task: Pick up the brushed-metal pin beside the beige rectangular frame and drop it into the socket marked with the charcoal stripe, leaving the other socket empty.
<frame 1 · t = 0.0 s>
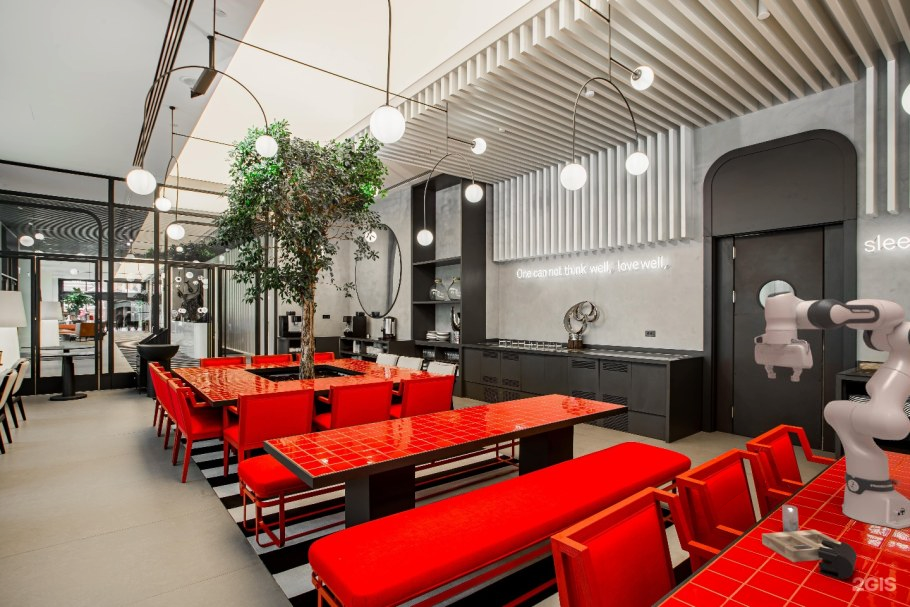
hand: (783, 379, 157), 48 cm above the table, fingers open, 8 cm apart
end cap: (838, 573, 125), on the table
metal pin: (791, 532, 148), on the table
beige rectangular frame: (804, 550, 137), on the table
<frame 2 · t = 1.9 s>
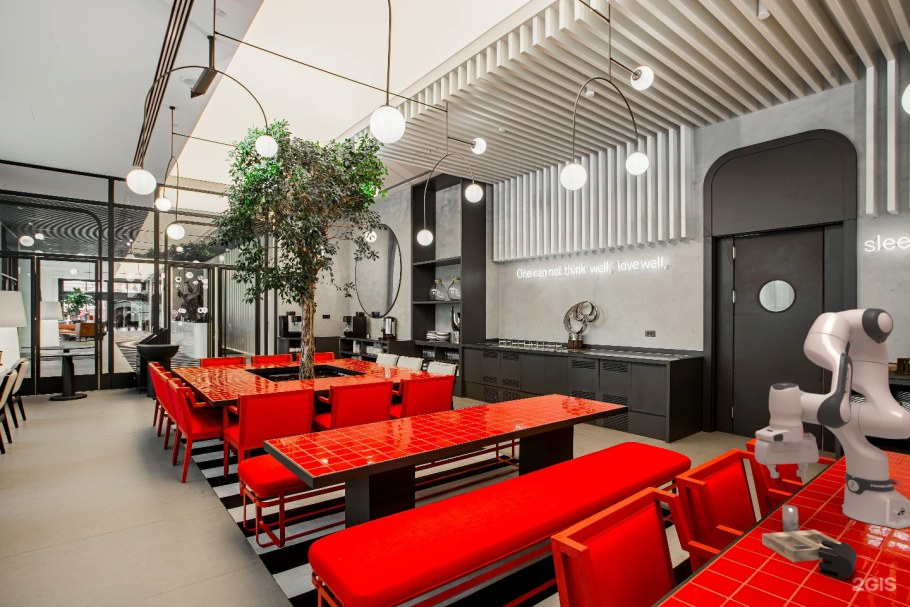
hand: (788, 477, 149), 18 cm above the table, fingers open, 8 cm apart
nothing on the table moved.
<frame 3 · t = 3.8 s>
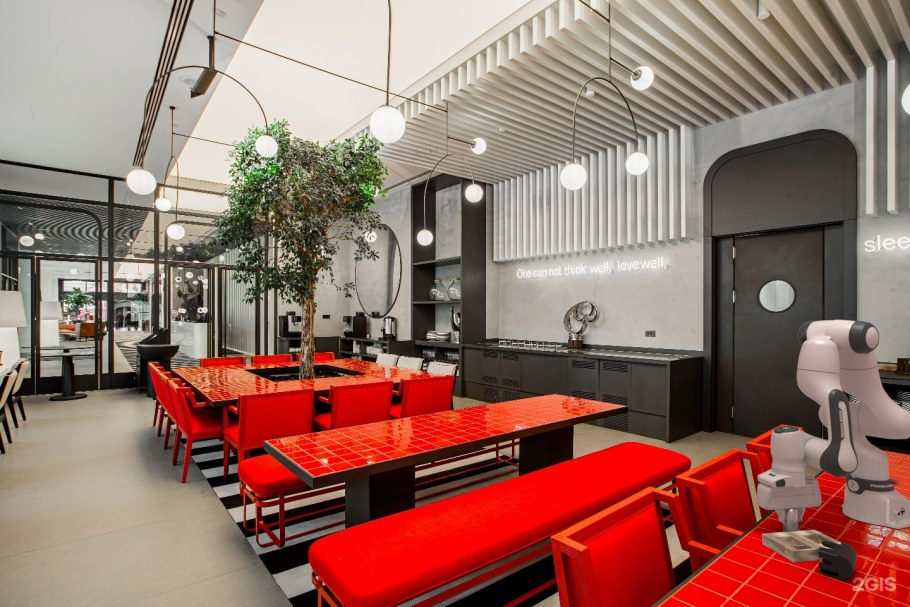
hand: (790, 521, 149), 4 cm above the table, fingers closed on metal pin, 4 cm apart
metal pin: (790, 532, 148), on the table, touching gripper
everything else where it was.
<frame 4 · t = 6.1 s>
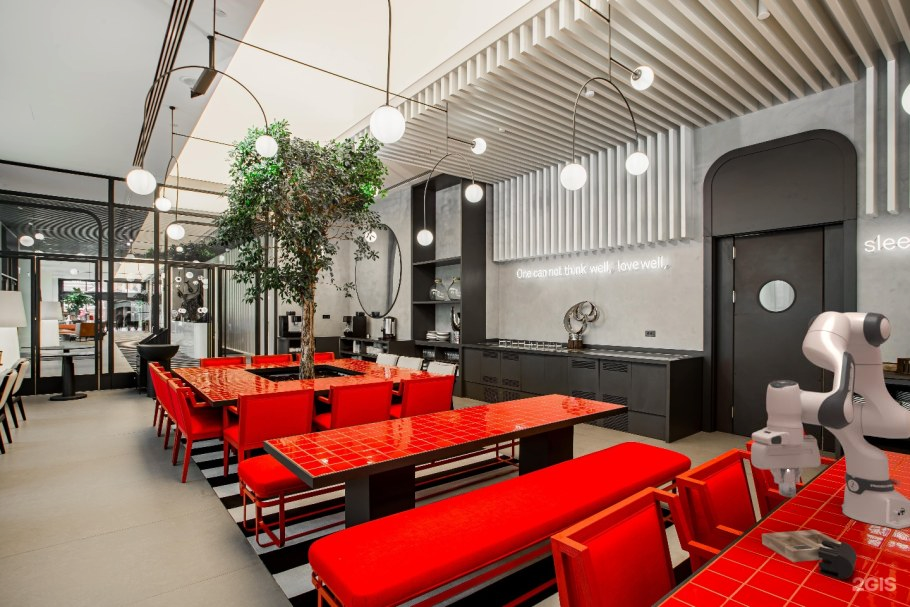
hand: (787, 482, 137), 20 cm above the table, fingers closed on metal pin, 4 cm apart
metal pin: (787, 494, 137), point 16 cm above the table, touching gripper
everything else where it was.
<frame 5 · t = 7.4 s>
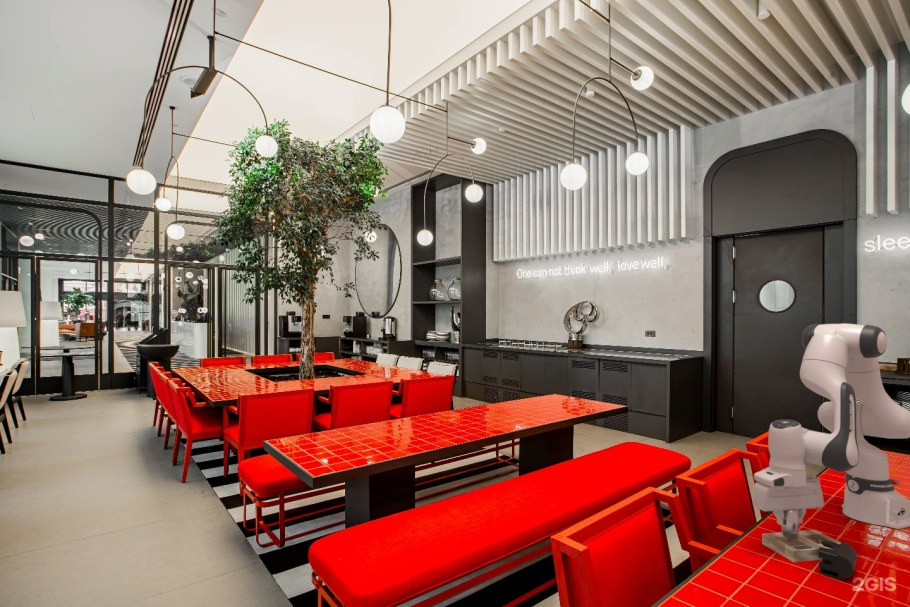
hand: (789, 523, 136), 8 cm above the table, fingers closed on metal pin, 4 cm apart
metal pin: (790, 535, 136), point 4 cm above the table, touching gripper
everything else where it was.
when the fingers open (5 cm above the table, at t = 8.3 s): metal pin drops 1 cm, resting in beige rectangular frame.
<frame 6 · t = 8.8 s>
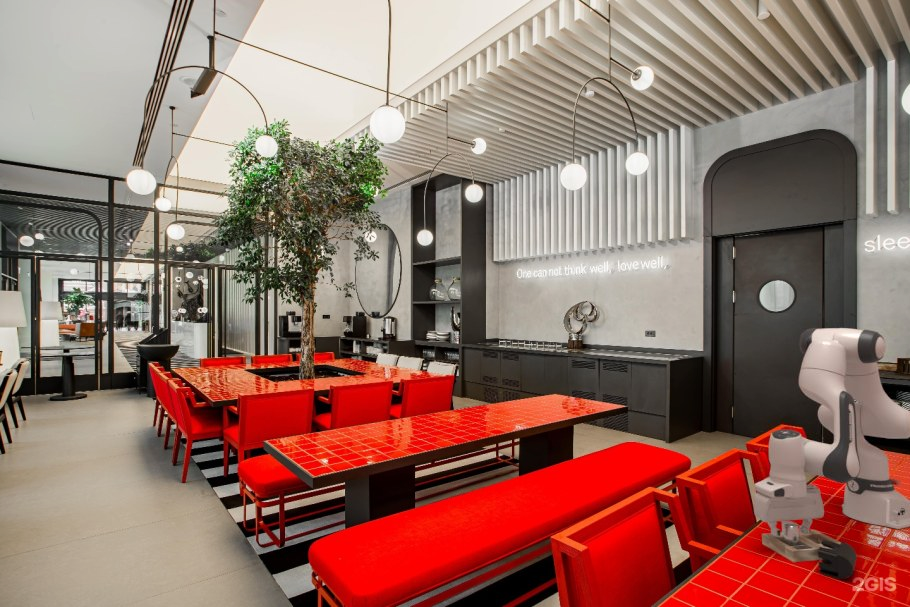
hand: (790, 534, 136), 5 cm above the table, fingers open, 8 cm apart
metal pin: (791, 551, 136), resting in beige rectangular frame
everything else where it was.
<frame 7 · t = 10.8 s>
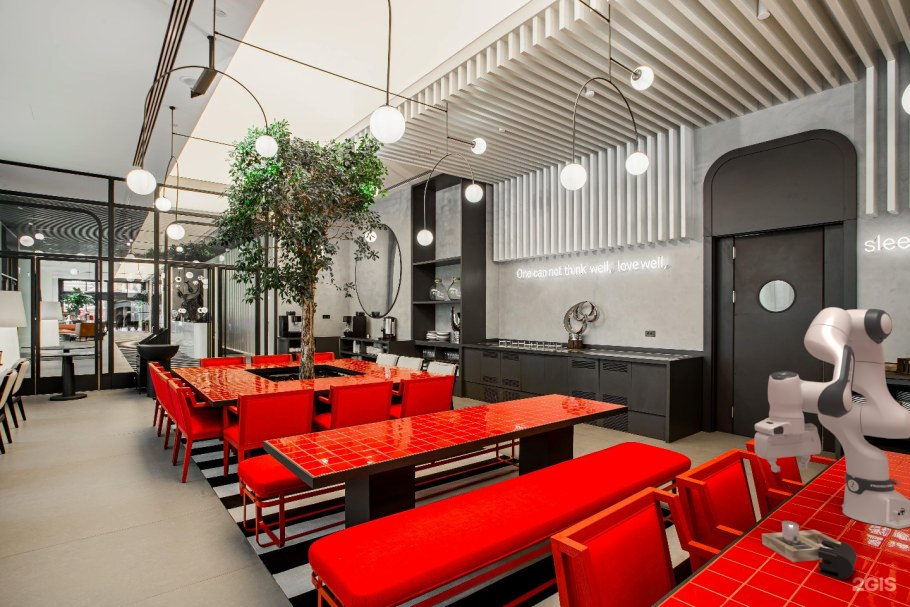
hand: (789, 470, 142), 22 cm above the table, fingers open, 8 cm apart
nothing on the table moved.
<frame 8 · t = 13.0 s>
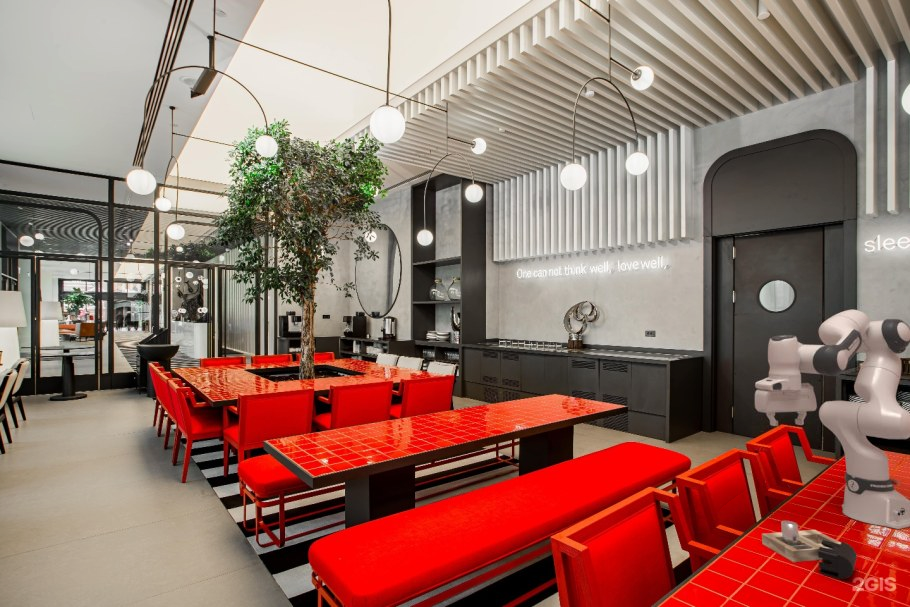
hand: (786, 425, 154), 33 cm above the table, fingers open, 8 cm apart
nothing on the table moved.
at the end: metal pin 0.1 cm from the target spot on the beige rectangular frame, point 0.0 cm above the beige rectangular frame's base; metal pin tilted 1°; the gripper is holding nothing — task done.
